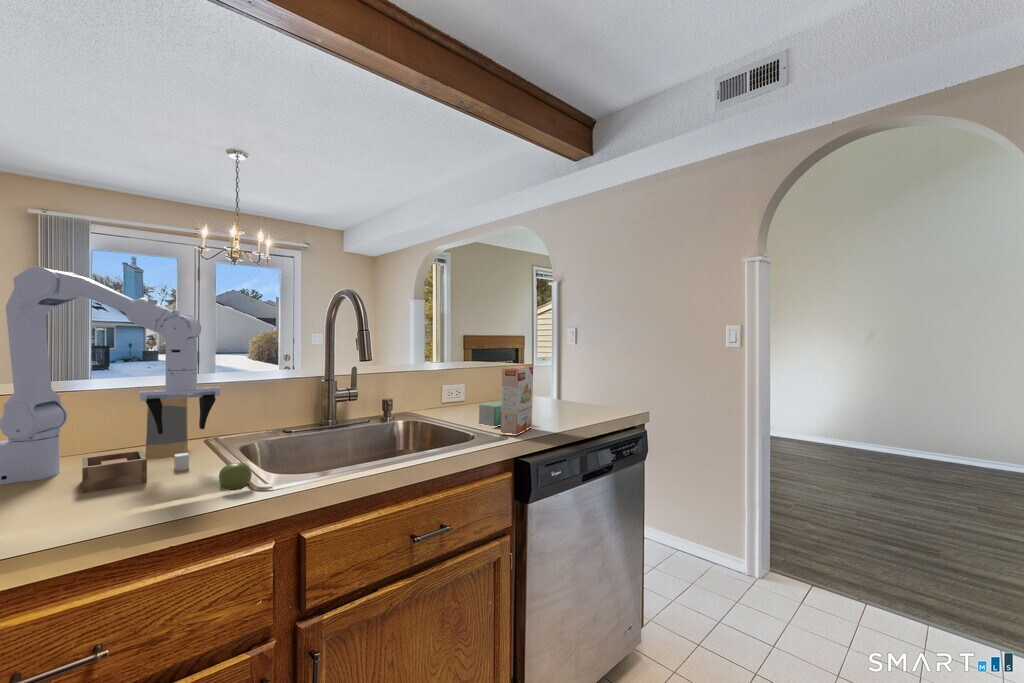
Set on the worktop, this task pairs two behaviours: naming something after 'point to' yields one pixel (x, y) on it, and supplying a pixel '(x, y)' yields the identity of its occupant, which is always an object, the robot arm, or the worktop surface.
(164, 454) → the sandwich container
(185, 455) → the lid
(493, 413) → the box
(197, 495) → the worktop surface
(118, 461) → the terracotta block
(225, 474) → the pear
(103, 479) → the walnut box
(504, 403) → the cracker box
